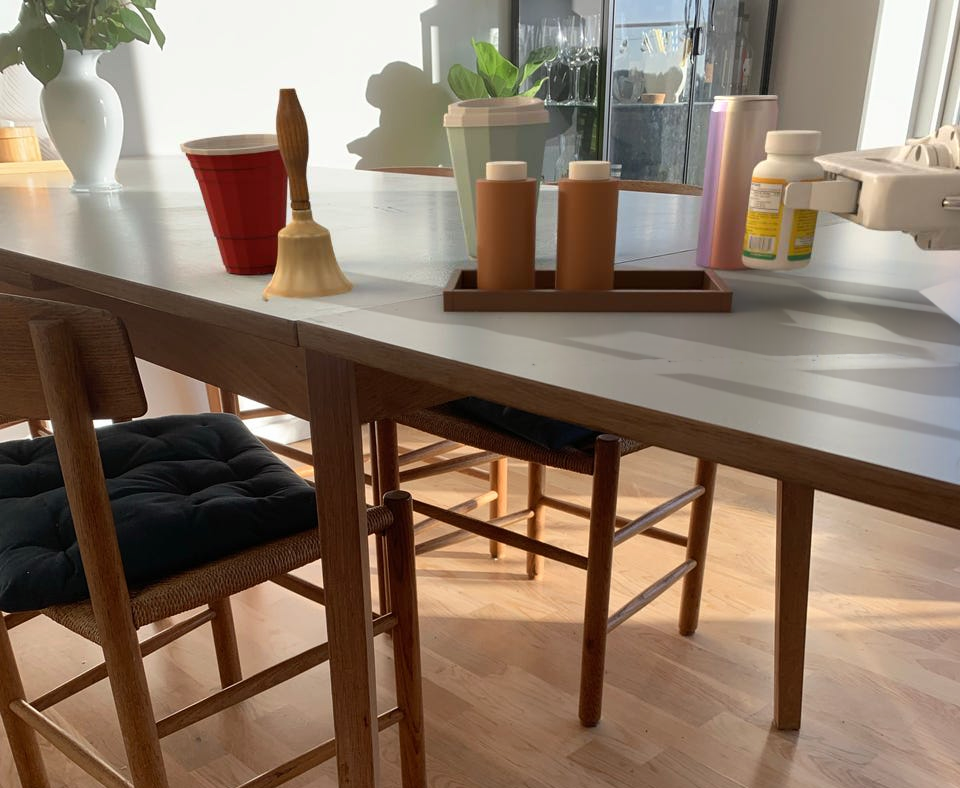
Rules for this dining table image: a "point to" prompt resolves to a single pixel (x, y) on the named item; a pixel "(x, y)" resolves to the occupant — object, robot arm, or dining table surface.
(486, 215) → the far amber bottle
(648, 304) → the tray
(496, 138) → the disposable coffee cup
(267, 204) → the plastic cup
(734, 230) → the beverage can
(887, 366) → the dining table surface
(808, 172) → the supplement bottle
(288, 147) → the hand bell
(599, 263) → the amber bottle
